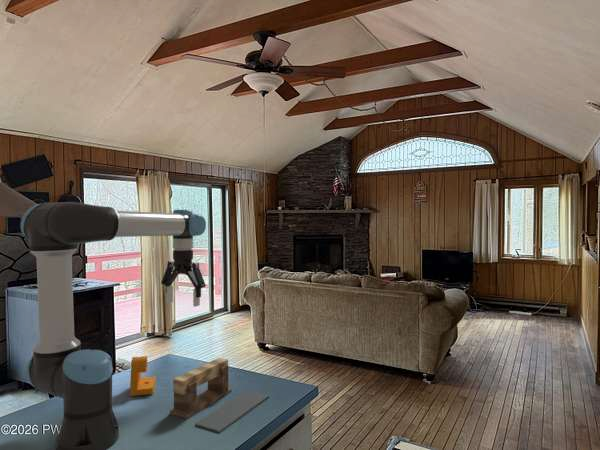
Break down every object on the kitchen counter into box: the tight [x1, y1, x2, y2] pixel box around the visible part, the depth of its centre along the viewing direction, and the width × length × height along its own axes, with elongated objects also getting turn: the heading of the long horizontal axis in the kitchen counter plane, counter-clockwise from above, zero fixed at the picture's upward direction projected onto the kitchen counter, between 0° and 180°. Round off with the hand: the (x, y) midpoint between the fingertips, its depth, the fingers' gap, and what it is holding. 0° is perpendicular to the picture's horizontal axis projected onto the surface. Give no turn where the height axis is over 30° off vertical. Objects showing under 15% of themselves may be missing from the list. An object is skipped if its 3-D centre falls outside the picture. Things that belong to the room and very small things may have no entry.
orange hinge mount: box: [129, 355, 157, 397], centre depth 143 cm, size 11×7×12 cm, turn 15°
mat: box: [194, 390, 270, 434], centre depth 128 cm, size 26×9×1 cm, turn 152°
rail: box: [172, 357, 229, 394], centre depth 134 cm, size 22×4×4 cm, turn 153°
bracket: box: [169, 365, 233, 419], centre depth 134 cm, size 22×7×10 cm, turn 153°
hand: (182, 304), depth 158 cm, fingers open, 13 cm apart
